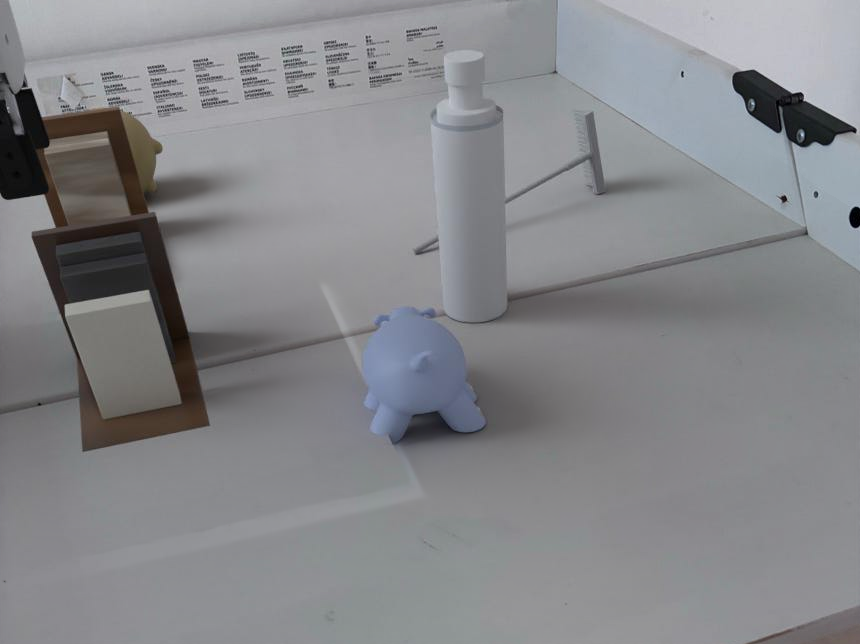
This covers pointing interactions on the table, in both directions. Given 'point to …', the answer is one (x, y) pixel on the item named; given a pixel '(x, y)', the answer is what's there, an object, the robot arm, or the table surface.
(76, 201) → the wooden bookshelf
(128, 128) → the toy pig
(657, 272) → the table surface
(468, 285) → the spray bottle
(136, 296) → the white book
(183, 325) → the stand
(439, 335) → the hippopotamus toy
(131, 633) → the table surface
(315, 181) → the table surface
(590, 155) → the grey toy rake
